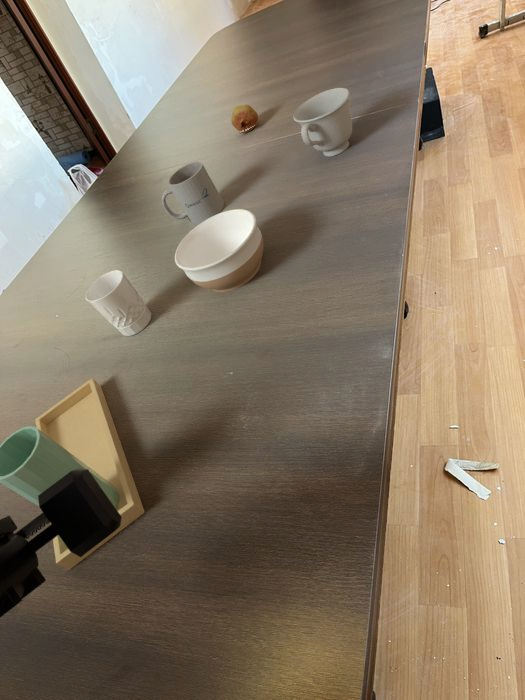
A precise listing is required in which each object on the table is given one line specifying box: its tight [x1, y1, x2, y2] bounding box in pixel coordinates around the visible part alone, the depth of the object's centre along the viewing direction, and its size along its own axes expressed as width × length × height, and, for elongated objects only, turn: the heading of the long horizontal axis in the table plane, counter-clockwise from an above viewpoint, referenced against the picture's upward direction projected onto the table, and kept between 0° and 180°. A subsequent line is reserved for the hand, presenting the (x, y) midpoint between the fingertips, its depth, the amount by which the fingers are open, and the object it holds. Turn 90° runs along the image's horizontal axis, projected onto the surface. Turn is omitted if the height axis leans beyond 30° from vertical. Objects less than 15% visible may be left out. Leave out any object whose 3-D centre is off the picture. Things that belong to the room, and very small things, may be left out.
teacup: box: [292, 87, 353, 158], centre depth 101 cm, size 12×15×10 cm
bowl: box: [174, 208, 265, 293], centre depth 88 cm, size 16×16×8 cm
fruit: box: [230, 104, 259, 134], centre depth 132 cm, size 7×7×10 cm
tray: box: [34, 377, 145, 571], centre depth 72 cm, size 30×12×2 cm, turn 29°
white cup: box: [84, 269, 152, 337], centre depth 90 cm, size 8×8×10 cm
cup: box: [0, 425, 119, 510], centre depth 60 cm, size 7×7×15 cm
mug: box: [161, 160, 225, 225], centre depth 109 cm, size 12×9×10 cm
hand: (50, 538), depth 49 cm, fingers open, 9 cm apart
